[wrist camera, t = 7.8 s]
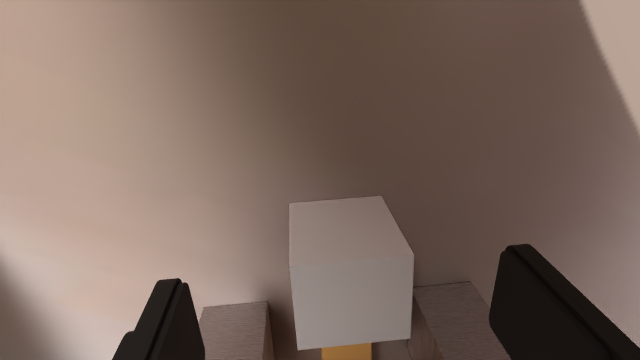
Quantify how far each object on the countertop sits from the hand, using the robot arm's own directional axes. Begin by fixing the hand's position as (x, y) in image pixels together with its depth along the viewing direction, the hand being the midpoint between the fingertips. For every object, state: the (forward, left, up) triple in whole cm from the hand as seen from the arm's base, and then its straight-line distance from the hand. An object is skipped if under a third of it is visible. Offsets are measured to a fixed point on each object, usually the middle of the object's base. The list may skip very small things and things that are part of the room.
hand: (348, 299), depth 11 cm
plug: (+6, 0, -6) cm, 8 cm away
